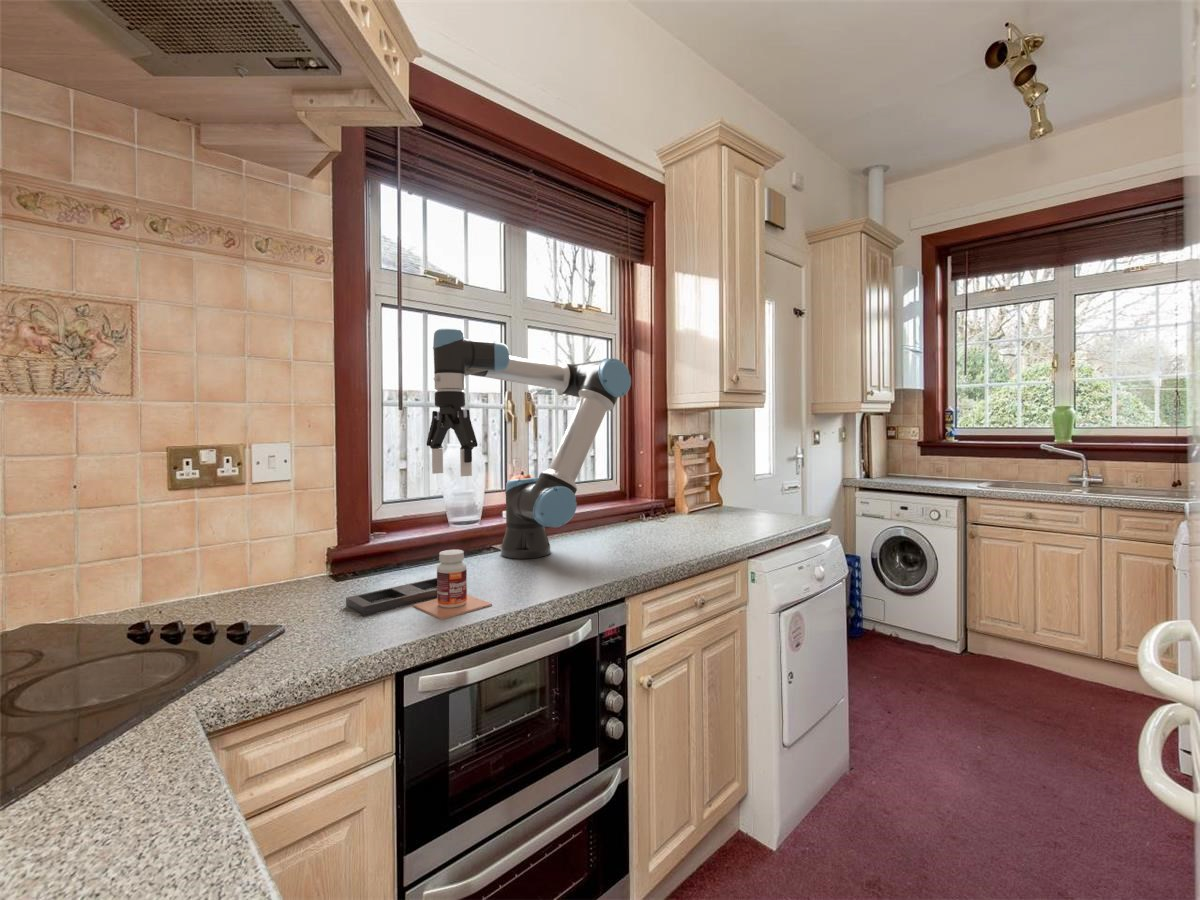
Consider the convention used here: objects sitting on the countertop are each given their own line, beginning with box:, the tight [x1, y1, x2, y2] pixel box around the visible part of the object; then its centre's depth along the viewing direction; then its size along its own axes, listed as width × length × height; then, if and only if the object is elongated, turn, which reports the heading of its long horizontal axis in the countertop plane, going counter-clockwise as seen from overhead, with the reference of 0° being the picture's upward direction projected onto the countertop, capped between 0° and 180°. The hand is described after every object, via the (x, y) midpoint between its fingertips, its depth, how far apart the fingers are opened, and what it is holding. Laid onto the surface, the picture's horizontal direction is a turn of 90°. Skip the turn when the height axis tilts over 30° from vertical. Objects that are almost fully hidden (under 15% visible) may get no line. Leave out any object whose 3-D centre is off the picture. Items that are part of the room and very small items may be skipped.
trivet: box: [412, 594, 493, 621], centre depth 117 cm, size 12×12×1 cm
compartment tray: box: [345, 577, 437, 617], centre depth 122 cm, size 24×9×2 cm, turn 136°
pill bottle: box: [436, 549, 468, 608], centre depth 117 cm, size 6×6×11 cm
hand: (451, 474), depth 138 cm, fingers open, 13 cm apart
